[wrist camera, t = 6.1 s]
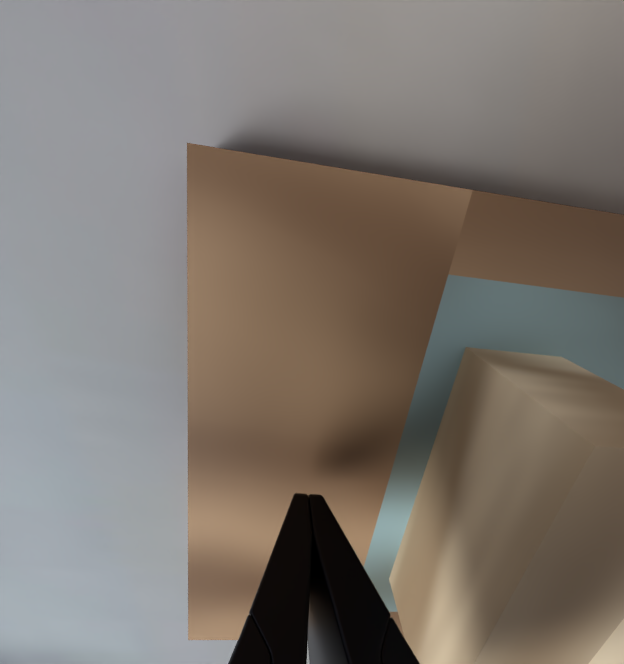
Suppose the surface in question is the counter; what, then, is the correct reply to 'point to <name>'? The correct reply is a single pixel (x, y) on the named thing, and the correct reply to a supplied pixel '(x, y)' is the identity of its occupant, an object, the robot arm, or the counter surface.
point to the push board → (356, 345)
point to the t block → (518, 519)
